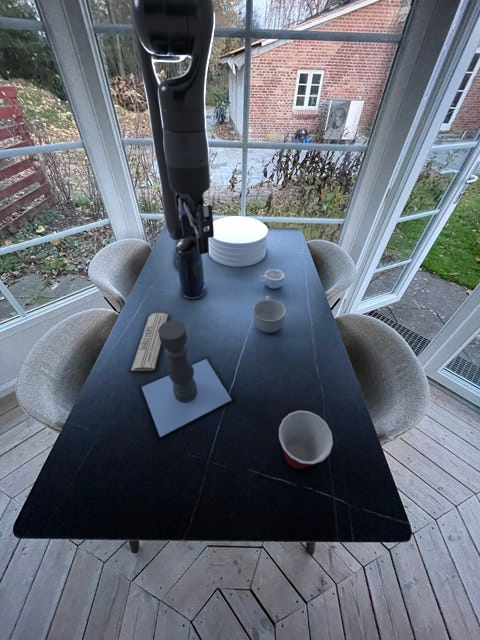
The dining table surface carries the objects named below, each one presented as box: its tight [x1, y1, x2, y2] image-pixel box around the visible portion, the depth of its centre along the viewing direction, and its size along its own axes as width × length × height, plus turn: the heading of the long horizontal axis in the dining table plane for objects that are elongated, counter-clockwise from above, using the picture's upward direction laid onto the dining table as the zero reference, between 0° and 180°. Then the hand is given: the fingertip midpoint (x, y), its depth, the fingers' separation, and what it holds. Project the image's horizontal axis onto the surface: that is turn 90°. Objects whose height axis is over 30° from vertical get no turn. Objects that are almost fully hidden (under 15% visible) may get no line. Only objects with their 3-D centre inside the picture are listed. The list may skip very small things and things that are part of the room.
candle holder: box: [158, 319, 197, 403], centre depth 64 cm, size 6×6×25 cm
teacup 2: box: [252, 295, 287, 334], centre depth 91 cm, size 14×11×8 cm
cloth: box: [141, 358, 233, 438], centre depth 73 cm, size 16×20×1 cm
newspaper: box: [130, 312, 169, 372], centre depth 86 cm, size 24×7×2 cm, turn 1°
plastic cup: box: [278, 410, 334, 470], centre depth 58 cm, size 11×11×12 cm
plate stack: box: [208, 216, 269, 268], centre depth 126 cm, size 28×28×12 cm
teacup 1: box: [258, 269, 285, 290], centre depth 109 cm, size 10×8×5 cm
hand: (195, 243), depth 58 cm, fingers open, 8 cm apart
